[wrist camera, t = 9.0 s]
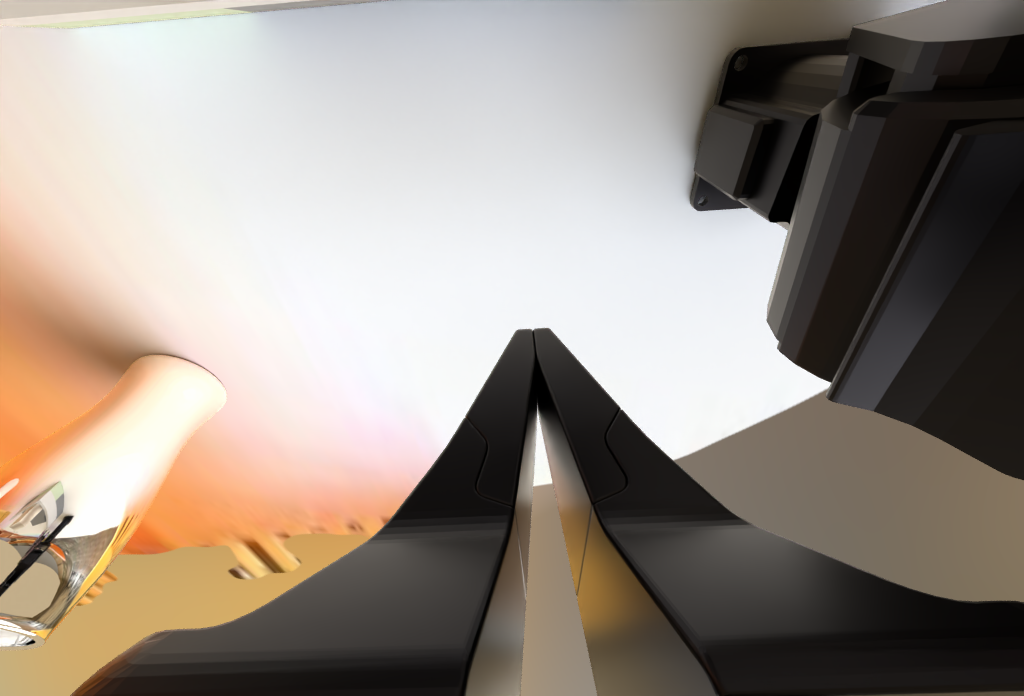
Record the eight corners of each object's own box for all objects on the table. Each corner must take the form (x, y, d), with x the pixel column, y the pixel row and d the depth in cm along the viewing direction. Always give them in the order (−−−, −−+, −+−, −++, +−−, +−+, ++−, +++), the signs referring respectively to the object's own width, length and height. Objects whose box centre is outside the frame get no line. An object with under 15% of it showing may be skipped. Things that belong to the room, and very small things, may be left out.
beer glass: (207, 350, 25) (-48, 610, 13) (249, 415, 29) (85, 651, 18) (102, 347, 25) (-250, 610, 13) (161, 413, 29) (-63, 652, 18)
